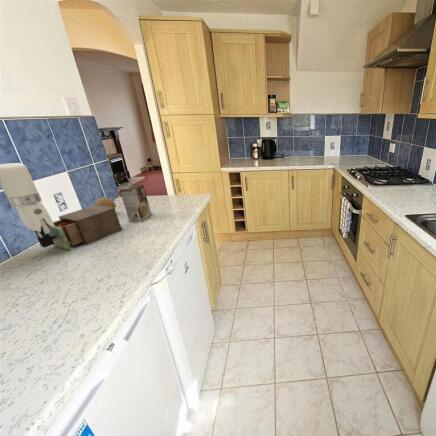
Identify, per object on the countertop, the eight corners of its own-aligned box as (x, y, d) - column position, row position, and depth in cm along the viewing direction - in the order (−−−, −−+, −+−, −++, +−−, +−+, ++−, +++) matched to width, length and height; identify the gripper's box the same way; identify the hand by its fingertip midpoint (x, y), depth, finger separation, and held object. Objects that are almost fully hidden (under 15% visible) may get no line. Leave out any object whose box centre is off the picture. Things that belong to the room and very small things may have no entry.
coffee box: (140, 214, 127) (131, 184, 120) (152, 214, 127) (143, 184, 120) (128, 221, 118) (118, 190, 112) (141, 221, 118) (132, 189, 112)
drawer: (64, 251, 92) (54, 230, 88) (47, 245, 96) (37, 225, 92) (104, 234, 104) (97, 215, 101) (88, 230, 108) (80, 212, 105)
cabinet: (86, 244, 98) (76, 220, 94) (68, 239, 103) (58, 216, 98) (122, 229, 110) (114, 207, 106) (104, 225, 115) (96, 204, 111)
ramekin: (80, 232, 104) (74, 219, 101) (89, 235, 101) (83, 221, 99) (61, 239, 98) (55, 225, 95) (71, 242, 96) (64, 227, 93)
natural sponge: (120, 215, 126) (114, 197, 122) (100, 220, 120) (92, 202, 116) (116, 211, 132) (110, 193, 128) (96, 216, 126) (89, 198, 122)
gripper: (50, 198, 85) (71, 244, 92) (28, 194, 90) (49, 237, 98) (22, 205, 78) (46, 254, 86) (0, 200, 84) (25, 246, 91)
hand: (48, 245), depth 92 cm, fingers closed
